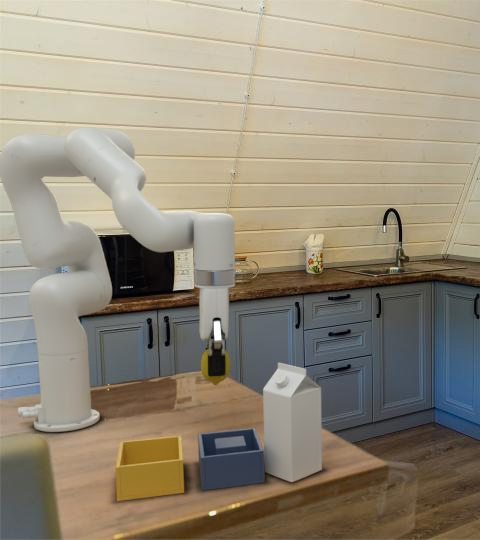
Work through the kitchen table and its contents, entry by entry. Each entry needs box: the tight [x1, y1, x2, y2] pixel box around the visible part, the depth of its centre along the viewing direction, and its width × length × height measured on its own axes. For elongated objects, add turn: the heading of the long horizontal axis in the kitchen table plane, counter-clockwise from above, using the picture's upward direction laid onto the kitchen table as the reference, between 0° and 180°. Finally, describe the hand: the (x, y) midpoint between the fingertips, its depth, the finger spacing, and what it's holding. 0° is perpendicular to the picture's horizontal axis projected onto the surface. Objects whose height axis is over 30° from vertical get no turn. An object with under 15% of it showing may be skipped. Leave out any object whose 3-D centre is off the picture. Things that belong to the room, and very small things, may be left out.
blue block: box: [214, 436, 246, 455], centre depth 126 cm, size 5×5×5 cm
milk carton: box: [262, 362, 323, 483], centre depth 126 cm, size 7×7×19 cm
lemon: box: [200, 348, 231, 386], centre depth 140 cm, size 6×6×8 cm
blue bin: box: [197, 427, 266, 491], centre depth 126 cm, size 10×12×6 cm
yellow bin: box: [115, 435, 185, 502], centre depth 122 cm, size 10×12×6 cm
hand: (215, 370), depth 140 cm, fingers closed on lemon, 5 cm apart
